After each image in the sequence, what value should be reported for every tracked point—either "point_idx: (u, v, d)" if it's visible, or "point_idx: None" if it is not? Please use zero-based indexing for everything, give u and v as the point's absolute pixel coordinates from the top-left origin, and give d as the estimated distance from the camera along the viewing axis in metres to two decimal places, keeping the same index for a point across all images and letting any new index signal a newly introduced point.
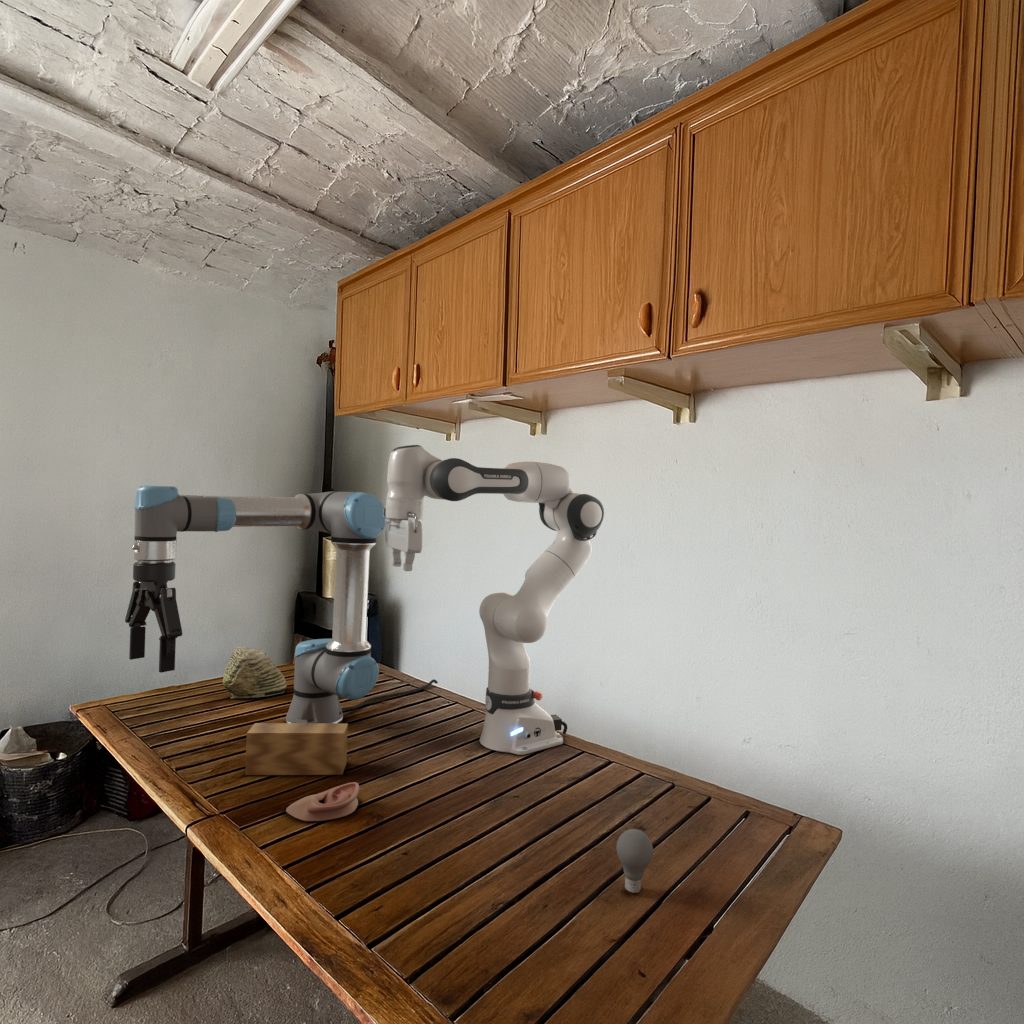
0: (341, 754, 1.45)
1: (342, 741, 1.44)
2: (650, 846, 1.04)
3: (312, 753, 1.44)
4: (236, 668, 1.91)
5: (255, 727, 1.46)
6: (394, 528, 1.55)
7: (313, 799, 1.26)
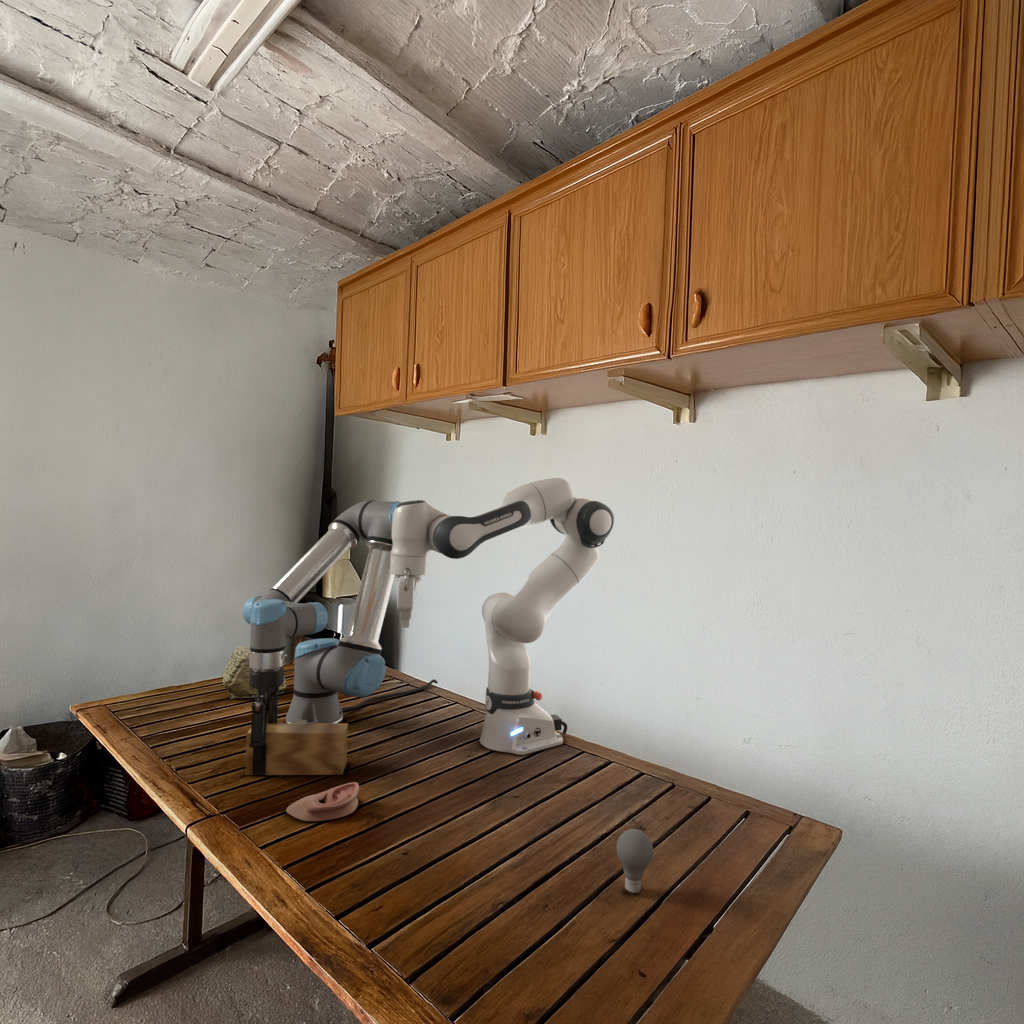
0: (341, 754, 1.45)
1: (342, 741, 1.45)
2: (650, 846, 1.04)
3: (312, 753, 1.44)
4: (236, 668, 1.91)
5: None
6: None
7: (313, 799, 1.26)
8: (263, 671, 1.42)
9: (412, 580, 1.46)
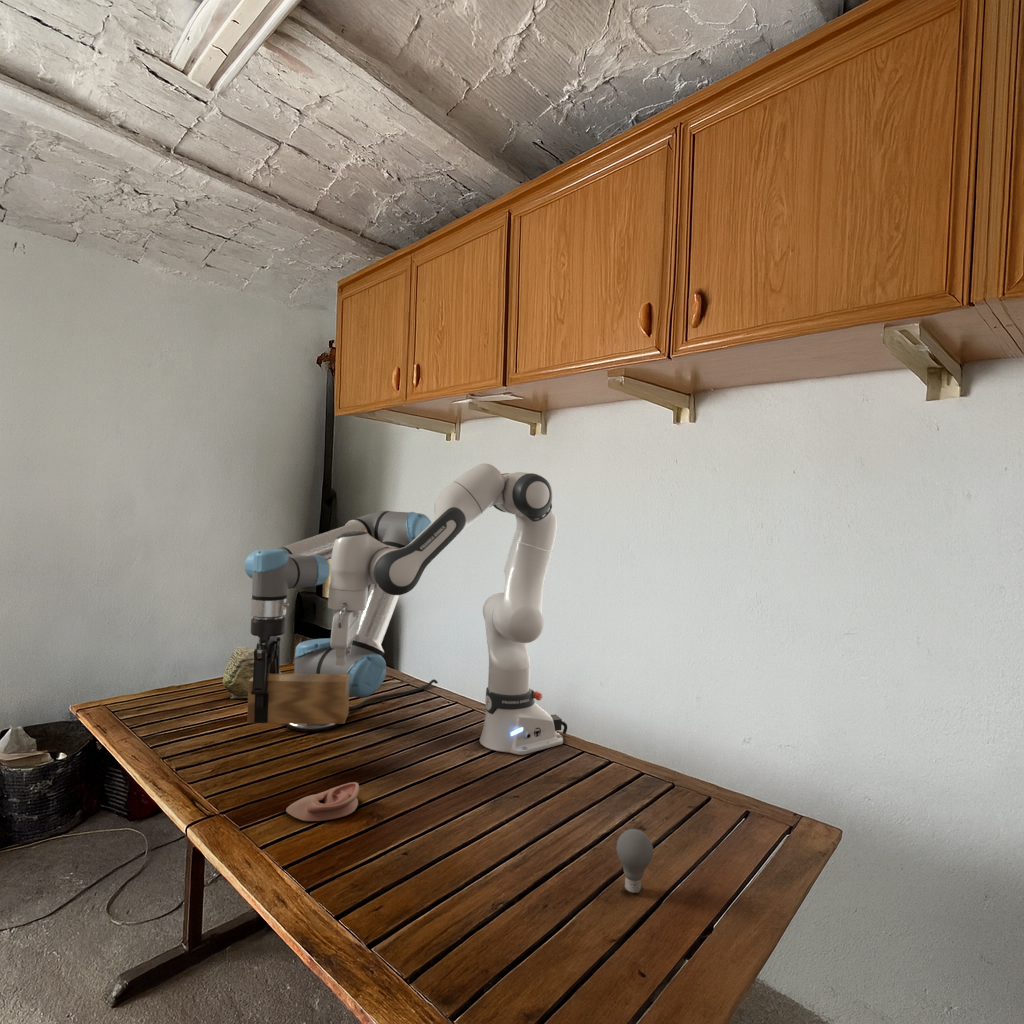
0: (343, 703, 1.44)
1: (344, 690, 1.44)
2: (650, 846, 1.04)
3: (314, 701, 1.44)
4: (236, 668, 1.91)
5: None
6: None
7: (313, 799, 1.26)
8: (265, 619, 1.42)
9: (347, 617, 1.39)
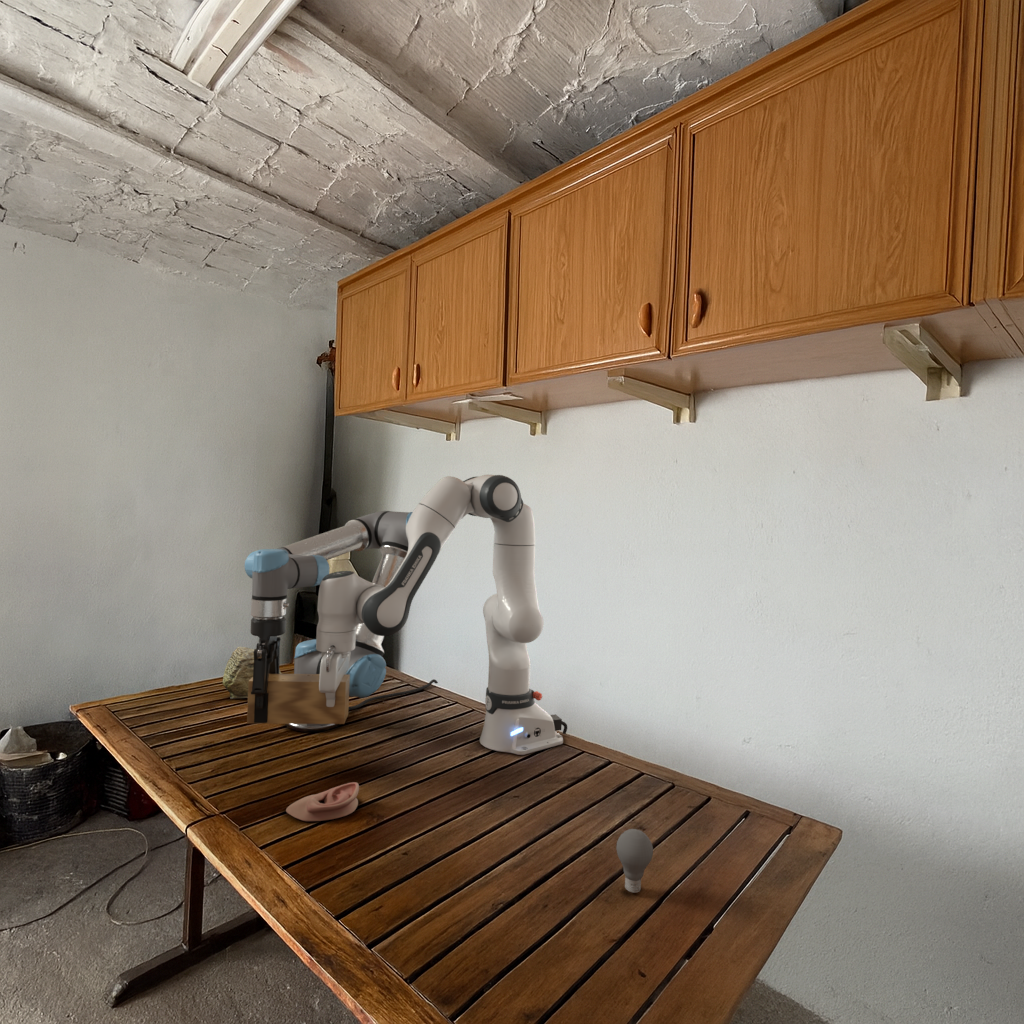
0: (343, 703, 1.44)
1: (344, 690, 1.44)
2: (650, 846, 1.04)
3: (314, 702, 1.44)
4: (236, 668, 1.91)
5: None
6: None
7: (313, 799, 1.26)
8: (265, 619, 1.42)
9: (335, 660, 1.39)
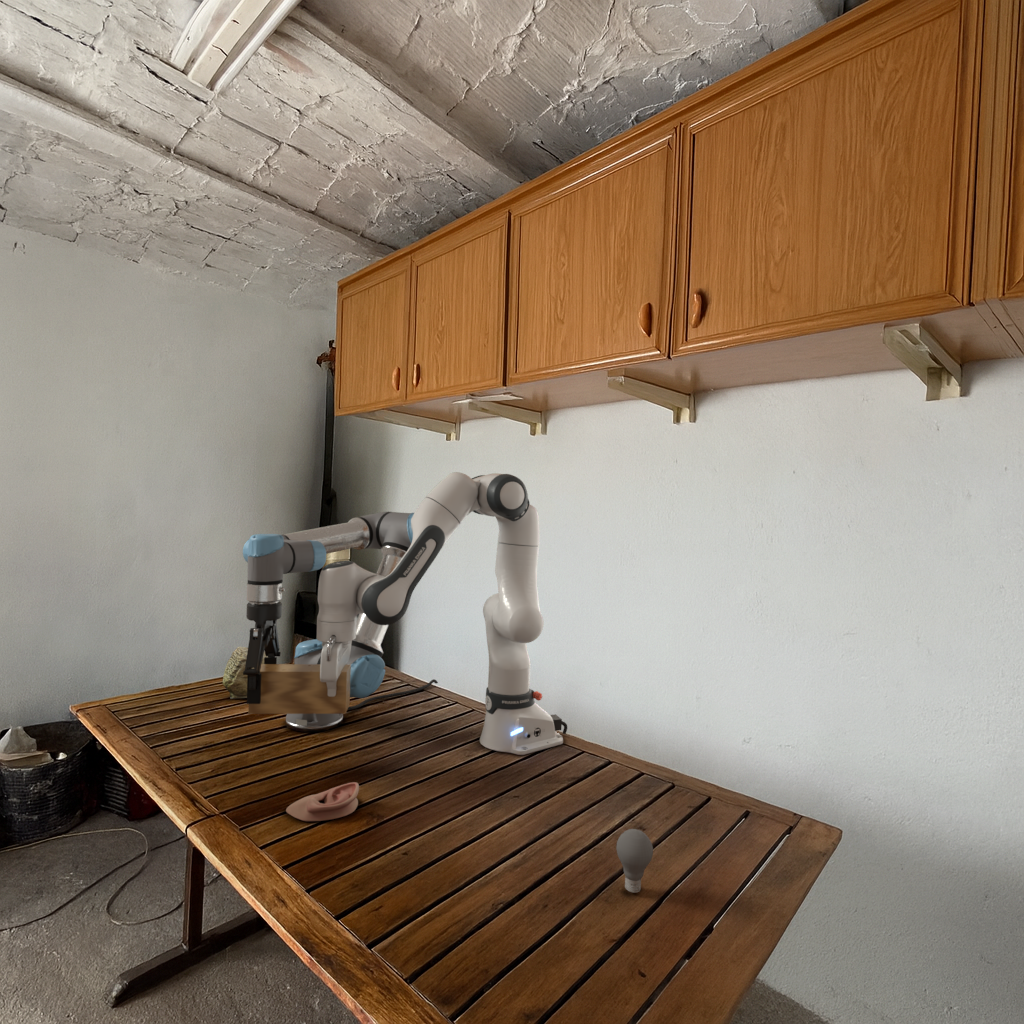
0: (344, 693, 1.44)
1: (345, 680, 1.44)
2: (650, 846, 1.04)
3: (315, 692, 1.44)
4: (236, 668, 1.91)
5: None
6: None
7: (313, 799, 1.26)
8: (261, 603, 1.42)
9: (336, 649, 1.38)
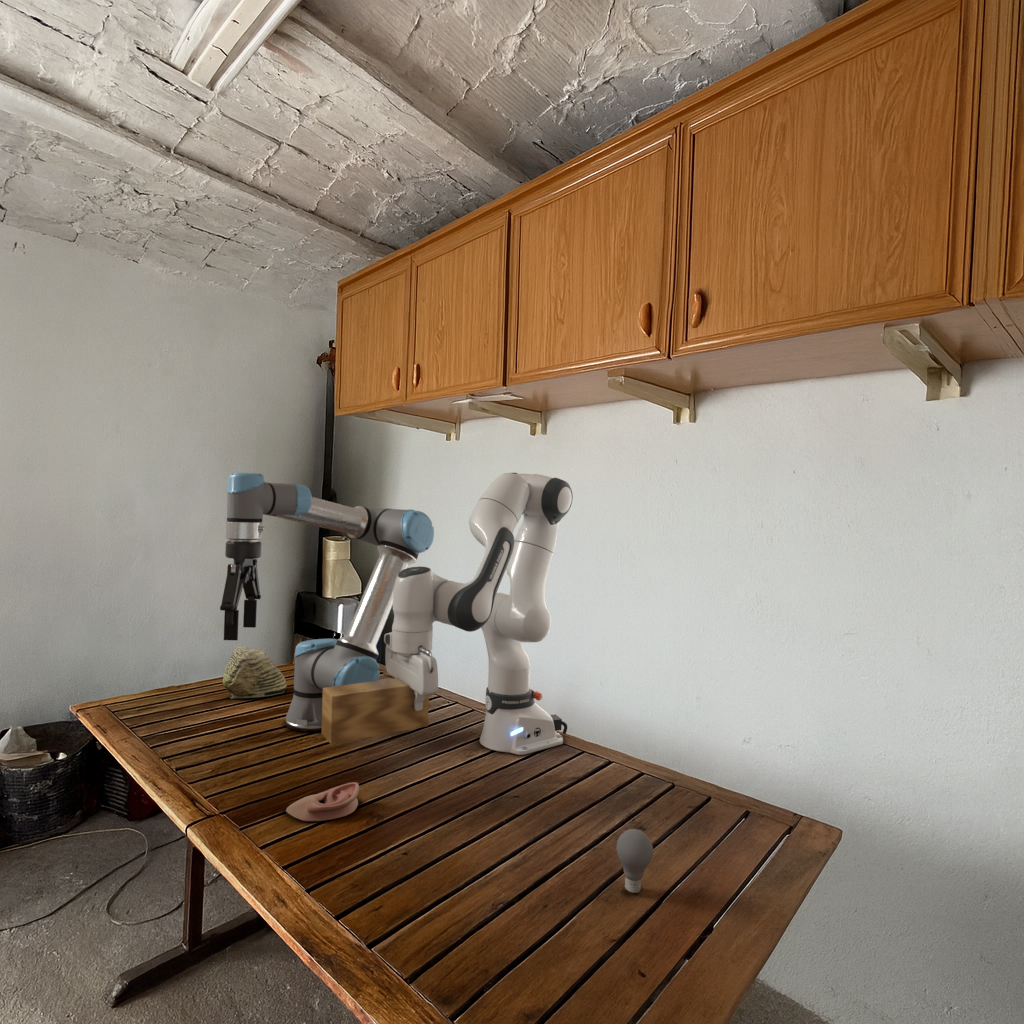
0: (427, 705, 1.38)
1: None
2: (650, 846, 1.04)
3: (399, 708, 1.34)
4: (236, 668, 1.91)
5: (331, 690, 1.30)
6: (399, 658, 1.40)
7: (313, 799, 1.26)
8: (239, 541, 1.41)
9: (435, 660, 1.32)
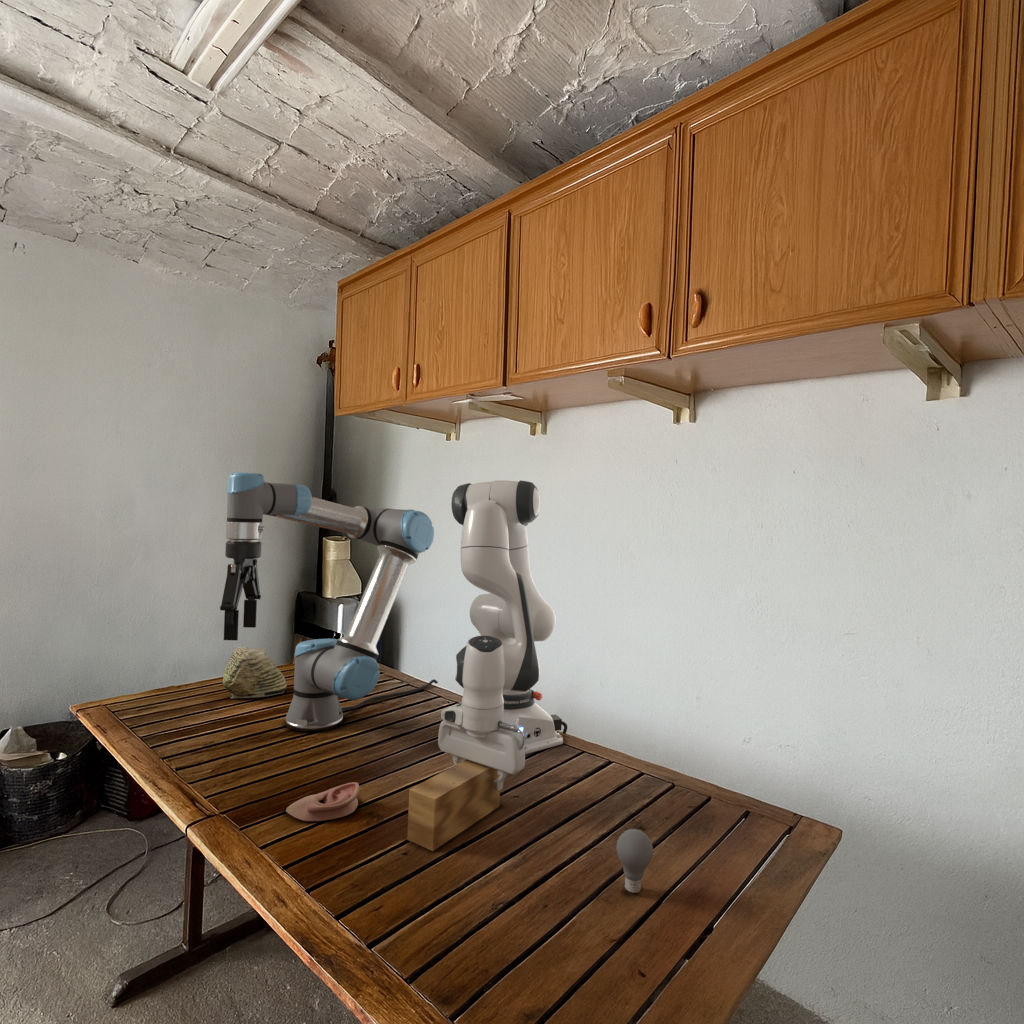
0: None
1: None
2: (650, 846, 1.04)
3: (481, 795, 1.27)
4: (236, 668, 1.91)
5: (423, 791, 1.18)
6: (465, 735, 1.32)
7: (313, 799, 1.26)
8: (239, 541, 1.41)
9: None
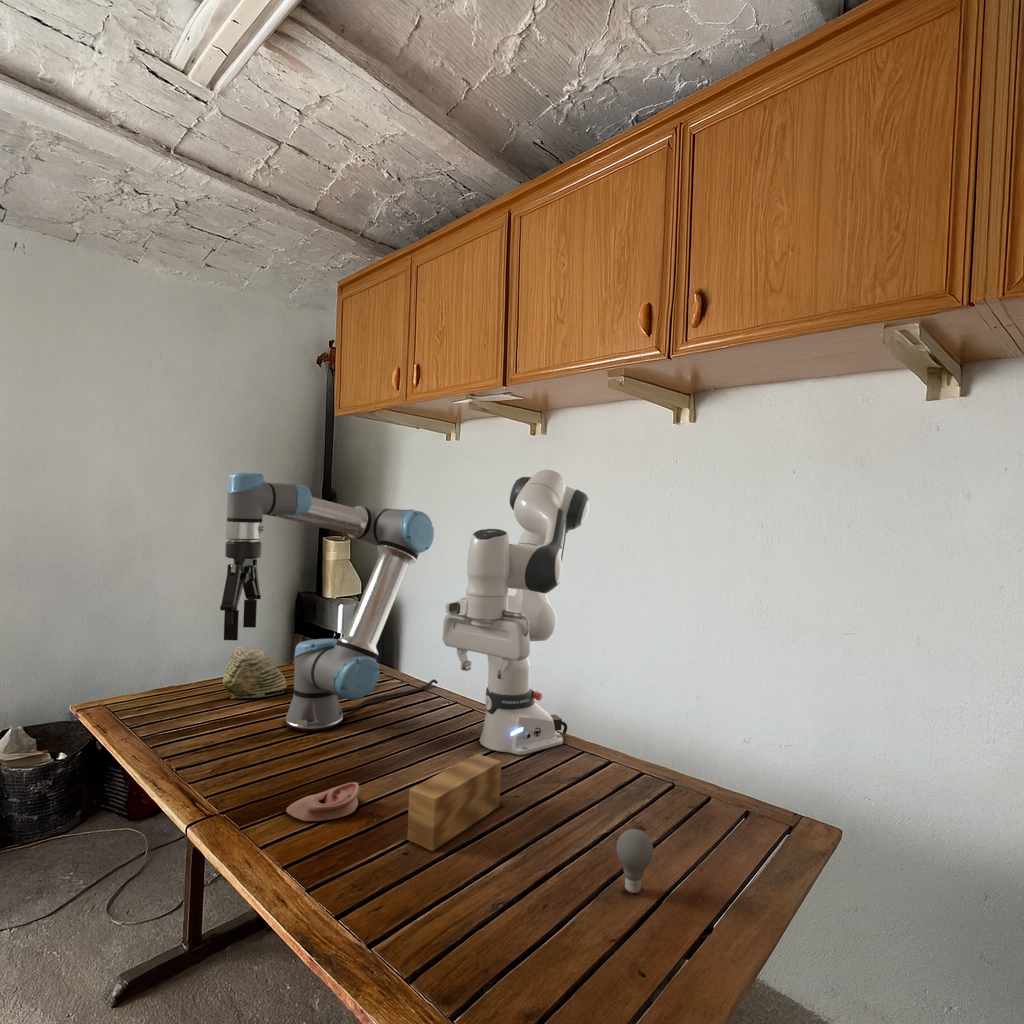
0: (499, 785, 1.32)
1: (500, 770, 1.33)
2: (650, 846, 1.04)
3: (481, 795, 1.27)
4: (236, 668, 1.91)
5: (423, 791, 1.18)
6: (470, 627, 1.31)
7: (313, 799, 1.26)
8: (239, 541, 1.41)
9: None
